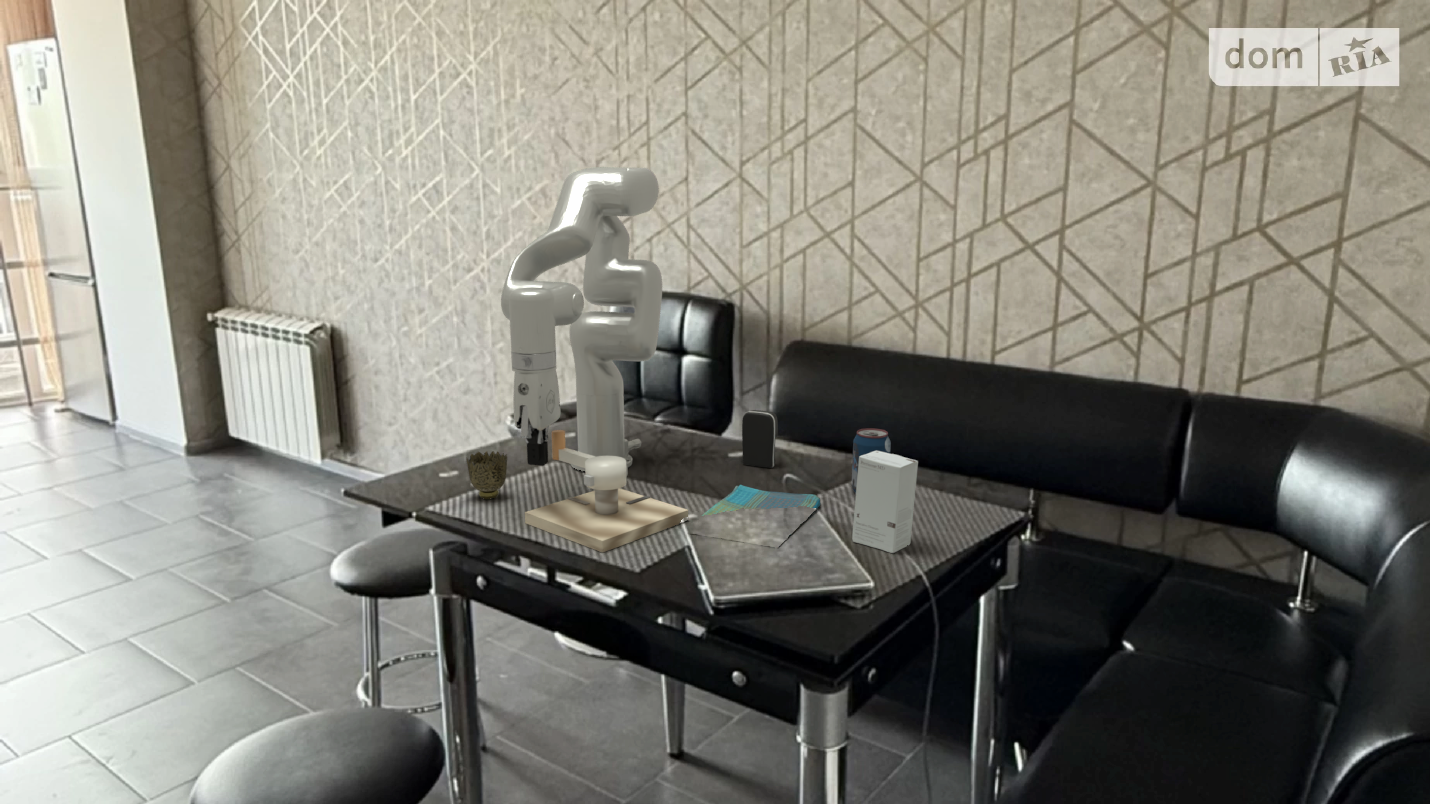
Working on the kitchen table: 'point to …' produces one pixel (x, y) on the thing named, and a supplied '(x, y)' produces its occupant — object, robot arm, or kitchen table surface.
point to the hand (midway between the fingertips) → (538, 463)
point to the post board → (606, 518)
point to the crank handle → (591, 465)
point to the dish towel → (762, 500)
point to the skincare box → (884, 501)
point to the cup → (487, 473)
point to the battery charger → (759, 438)
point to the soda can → (868, 447)
